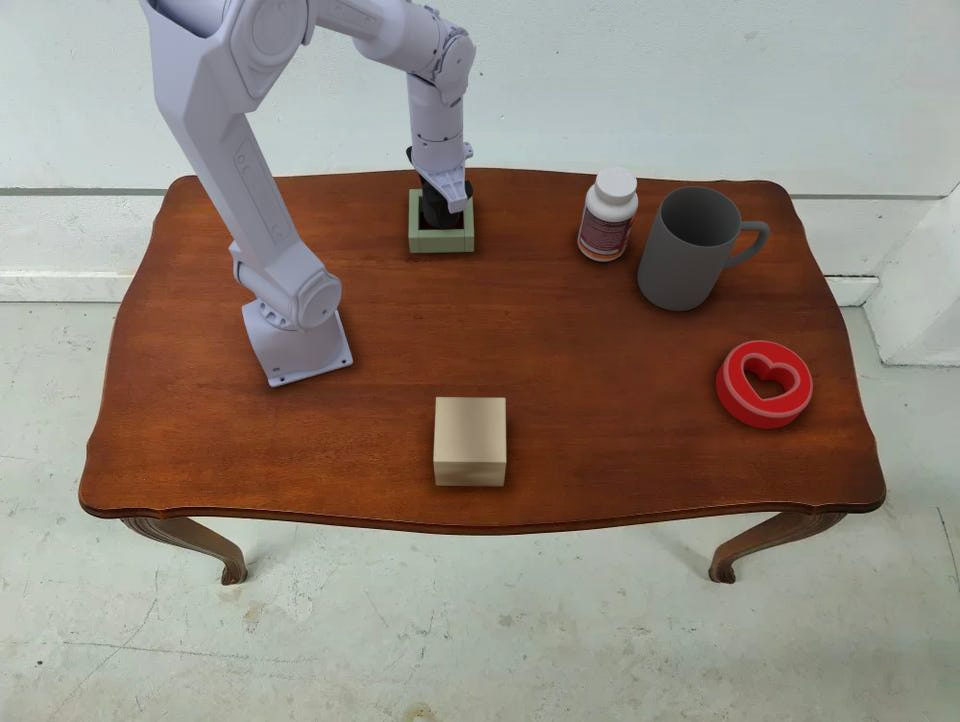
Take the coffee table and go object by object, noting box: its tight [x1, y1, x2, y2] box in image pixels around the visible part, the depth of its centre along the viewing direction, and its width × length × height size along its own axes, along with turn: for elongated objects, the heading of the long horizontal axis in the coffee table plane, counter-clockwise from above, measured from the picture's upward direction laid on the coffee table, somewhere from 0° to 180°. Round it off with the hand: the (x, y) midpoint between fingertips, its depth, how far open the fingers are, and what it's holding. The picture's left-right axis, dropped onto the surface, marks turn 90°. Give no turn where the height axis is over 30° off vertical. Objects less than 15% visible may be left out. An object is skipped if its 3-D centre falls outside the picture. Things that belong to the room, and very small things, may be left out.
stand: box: [432, 396, 507, 487], centre depth 72 cm, size 7×7×6 cm
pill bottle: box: [577, 166, 639, 263], centre depth 85 cm, size 6×6×11 cm
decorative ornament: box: [715, 339, 814, 430], centre depth 78 cm, size 10×10×3 cm
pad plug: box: [421, 180, 461, 229], centre depth 87 cm, size 4×4×4 cm
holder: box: [408, 188, 475, 254], centre depth 89 cm, size 8×8×3 cm
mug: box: [637, 185, 771, 312], centre depth 82 cm, size 14×9×12 cm
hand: (440, 210), depth 88 cm, fingers closed on pad plug, 4 cm apart
